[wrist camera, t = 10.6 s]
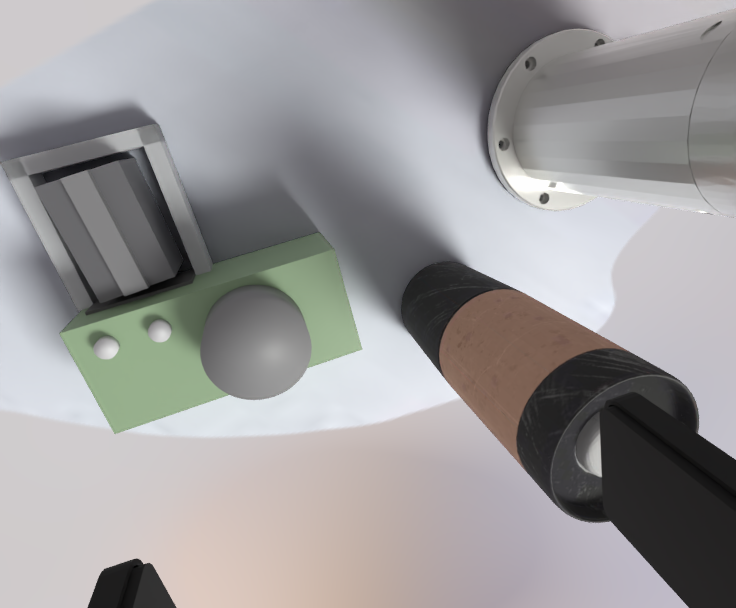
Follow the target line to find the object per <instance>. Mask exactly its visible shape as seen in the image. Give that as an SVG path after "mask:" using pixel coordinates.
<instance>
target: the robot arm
mask: <svg viewBox="0 0 736 608" xmlns="http://www.w3.org/2000/svg"><path fill="white" fill-rule="evenodd" d="M525 63H526V66H525ZM487 138H488V148H489V154H490V157H491V161H492V165H493V168H494V170H495V172H496V174H497V176H498V178H499V180H500V181H501V183H502V184H503V185H504V186H505V188H506V189H507V190H508V192H510V193H511V194H512V195H513V196H514V197H516V198H517V199H518V200H519V201H521V202H523V203H525V204H527V205H529V206H531V207H535V208H539V209H543V210H551V211H562V210H570V209H573V208H576V207H580V206H583V205H585V204H586V203H588V202H590V201H592V200H594V199H596V198H597V197H601V198H608V199H614V200H621V201H627V202H634V203H640V204H647V205H653V206H660V207H667V208H673V209H680V210H686V211H694V212H699V213H707V214H712V215H720V216H727V217H733V218H736V8H735V9H731V10H728V11H724V12H720V13H717V14H713V15H709V16H706V17H702V18H698V19H695V20H691V21H687V22H684V23H680V24H676V25H673V26H669V27H665V28H662V29H658V30H655V31H651V32H647V33H644V34H640V35H636V36H633V37H629V38H625V39H622V40H618V41H614V40H612V39H611V38H609V37H608V36H607V35H604V34H602V33H599V32H597V31H594V30H588V29H579V28H577V29H570V30H563V31H560V32H557V33H554V34H551V35H548V36H546V37H544V38H542V39H540V40H538V41H536V42H534V43H533V44H532V45H530V46H529V47H528V48H527V49H525V50H524V51H523V52H522V53H520V54H519V56H518V57H517V58H516V59H515V60H514V61H513V62H512V64H511V65H510V66H509V67H508V69H507V71H506V72H505V74H504V75H503V77H502V79H501V80H500V82H499V84H498V87H497V89H496V92H495V94H494V97H493V99H492V104H491V108H490V112H489V116H488V130H487ZM499 141H500V143H501V144H500V147H499ZM539 197H540V198H539ZM599 418H600V444H601V471H602V497H603V507H604V510H605V512H606V514H607V516H608V518H609V519H610V521H611V522H612V523H613V524H614V525H615V526H616V527H617V528H618V530H619V531H620V532H621V533H622V534H623V535H624V536H625V537H626V539H627V540H628V541H629V542H630V543H631V544H632V545H633V546H634V547H635V548H636V549H637V551H638V552H639V553H640V554H641V555H642V556H643V557H644V558H645V560H646V561H647V562H648V563H649V564H650V565H651V566H652V567H653V568H654V569H655V571H656V572H657V573H658V574H659V575H660V576H661V577H662V578H663V579H664V581H665V582H666V583H667V584H668V585H669V586H670V587H671V588H672V589H673V590H674V592H676V593H677V595H678V596H679V597H680V598H681V599H682V600H683V602H684V603H685V604H686V605H687V606H688V607H689V608H736V460H735V459H734V458H732V457H730V456H729V455H728V454H726V453H725V452H723V451H722V450H721V449H719V448H717V447H716V446H715V445H713V444H712V443H710V442H709V441H707V440H706V439H704V438H703V437H701V436H700V435H699V434H697V433H696V432H694V431H693V430H691V429H690V428H688V427H687V426H685V425H684V424H683V423H681V422H680V421H678V420H677V419H675V418H674V417H672V416H671V415H669V414H668V413H666V412H665V411H664V410H662V409H661V408H659V407H658V406H656V405H655V404H653V403H652V402H650V401H649V400H647V399H646V398H645V397H643V396H642V395H640V394H638V393H636V392H630V393H627V394H624V395H621V396H618V397H615V398H612V399H609V400H607V401H606V402H605V405H604V409H602V410H601V411H600V415H599ZM88 608H176V606H175V604H174V603H173V601H172V599H171V597H170V595H169V594H168V592H167V590H166V588H165V587H164V585H163V583H162V581H161V579H160V578H159V576H158V574H157V572H156V570H155V569H154V567H153V565H152V564H150V563H147V564H143V563H142V561H141V560H139V559H133V560H130V561H127V562H124V563H121V564H118V565H116V566H112V567H109V568H106V569H104V570H103V571H102V572H101V574H100V576H99V578H98V581H97V583H96V586H95V589H94V592H93V595H92V597H91V600H90V603H89V605H88Z"/></svg>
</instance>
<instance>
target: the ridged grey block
mask: <svg viewBox="0 0 736 608" xmlns="http://www.w3.org/2000/svg"><path fill="white" fill-rule="evenodd" d="M34 189H35V190H36V192H37V194H38V196H39V197H40V199H41V201H42V203H43V204H44V206H45V208H46V210H47V211H48V213H49V215H50V217H51V218H52V220H53V222H54V224H55V225H56V227H57V229H58V230H59V232H60V234H61V236H62V237H63V239H64V241H65V243H66V244H67V246H68V248H69V250H70V251H71V253H72V255H73V257H74V258H75V260H76V262H77V264H78V265H79V267H80V269H81V271H82V272H83V274H84V276H85V278H86V279H87V281H88V283H89V284H90V286H91V288H92V290H93V291H94V293H95V295H96V297H97V298H98V300H99V302H100V303H103V302H106V301H108V300H111V299H114V298H117V297H120V296H122V295H124V297H125V296H128V295H130V294H133V293H136V292H139V291H141V290H144V289H147V288H149V286H150V285H153V284H156V283H159V282H161V281H164V280H167V279H170V278H173V277H175V276H176V274H177V272H178V270H179V268H180V266H181V264H182V262H183V258H182V256H181V253H180V251H179V249H178V247H177V245H176V243H175V241H174V239H173V237H172V235H171V233H170V230H169V228H168V226H167V224H166V222H165V220H164V218H163V216H162V214H161V212H160V210H159V207H158V205H157V203H156V201H155V199H154V197H153V195H152V193H151V191H150V189H149V187H148V184H147V182H146V180H145V178H144V176H143V174H142V172H141V170H140V168H139V166H138V164H137V161H136V159H135V158H131V159H124V160H118V161H115V162H111V163H108V164H105V165H102V166H99V167H96V168H93V169H90V170H85V171H82V172H79V173H76V174H73V175H70V176H67V177H64V178H61V179H59V180H56V181H52V182H49V183H46V184H43V185H40V186H37V187H34Z"/></svg>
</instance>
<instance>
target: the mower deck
mask: <svg viewBox="0 0 736 608" xmlns="http://www.w3.org/2000/svg"><path fill="white" fill-rule="evenodd" d="M142 147H144V148H145V151H146V153H147V156H148V158H149V161H150V163H151V166H152V168H153V171H154V173H155V175H156V178H157V180H158V183H159V185H160V188H161V190H162V193H163V195H164V198H165V200H166V203H167V205H168V208H169V210H170V212H171V215H172V217H173V220H174V222H175V225H176V227H177V230H178V232H179V235H180V237H181V240H182V242H183V245H184V247H185V249H186V252H187V254H188V257H189V259H190V262H191V264H192V267H193V269H190V270H187V271H184V272H180V273H177V274H176V276H175V277H173V278H170V279H167V280H164V281H161V282H159V283H156V284H153V285H150V286H149V288H147V289H144V290H141V291H139V292H136V293H133V294H130V295H128V296H125V297H124V295H122V296H120V297H117V298H114V299H111V300H108V301H106V302H103V303H100V302H99V300H98V298H97V297H96V295H95V293H94V291H93V290H92V288H91V286H90V284H89V283H88V281H87V279H86V278H85V276H84V274H83V272H82V271H81V269H80V267H79V265H78V264H77V262H76V260H75V258H74V257H73V255H72V253H71V251H70V250H69V248H68V246H67V244H66V243H65V241H64V239H63V237H62V236H61V234H60V232H59V230H58V229H57V227H56V225H55V224H54V222H53V220H52V218H51V217H50V215H49V213H48V211H47V210H46V208H45V206H44V204H43V203H42V201H41V199H40V197H39V196H38V194H37V192H36V190H35V189H34V187H37V186H40V185H43V184H46V181H45V179H44V177H43V175H42V173H45V172H49V171H53V170H56V169H60V168H64V167H68V166H72V165H76V164H80V163H84V162H88V161H91V160H95V159H99V158H103V157H107V156H111V155H115V154H119V153H123V152H126V151H130V150H134V149H138V148H142ZM0 163H1V165H2V167H3V169H4V171H5V173H6V175H7V176H8V178H9V180H10V182H11V184H12V186H13V188H14V190H15V192H16V194H17V196H18V198H19V199H20V201H21V203H22V205H23V207H24V209H25V211H26V213H27V215H28V217H29V219H30V220H31V222H32V224H33V226H34V228H35V230H36V232H37V234H38V236H39V238H40V240H41V242H42V243H43V245H44V247H45V249H46V251H47V253H48V255H49V257H50V259H51V261H52V263H53V264H54V266H55V268H56V270H57V272H58V274H59V276H60V278H61V280H62V282H63V284H64V285H65V287H66V289H67V291H68V293H69V295H70V297H71V299H72V301H73V303H74V305H75V307H76V308H77V310H78V311H80V310H81V312H80V313H79V314H78V315H77V316H76V317H75V318H74V319H73V320H72V321H71V322H70V323H69V324H68V325H67V326H66V327H65V328H64V329H63V330H62V331H61V332H60V333H59V334H60V336H61V337H62V339H63V341H64V343H65V345H66V347H67V348H68V350H69V352H70V354H71V356H72V357H73V359H74V361H75V363H76V365H77V367H78V368H79V370H80V372H81V374H82V376H83V377H84V379H85V381H86V383H87V385H88V387H89V388H90V390H91V392H92V394H93V396H94V397H95V399H96V401H97V403H98V405H99V407H100V408H101V410H102V412H103V414H104V416H105V417H106V419H107V421H108V423H109V425H110V426H111V428H112V430H113V432H114V434H116V433H119V432H122V431H125V430H128V429H131V428H134V427H137V426H140V425H143V424H146V423H149V422H151V421H154V420H157V419H160V418H163V417H166V416H169V415H172V414H175V413H178V412H181V411H184V410H187V409H189V408H192V407H195V406H198V405H201V404H204V403H207V402H210V401H213V400H216V399H219V398H222V397H224V396H227V395H232V396H234V397H237V398H241V399H248V400H260V399H266V398H270V397H274V396H277V395H279V394H281V393H283V392H285V391H287V390H288V389H290V388H291V387H292V386H293V385H295V384H296V383H297V382H298V381H299V379H300V378H301V377H302V376H303V374H304V373H305V371H306V369H307V368H309V367H312V366H315V365H318V364H321V363H324V362H327V361H330V360H333V359H336V358H338V357H341V356H344V355H347V354H350V353H353V352H356V351H359V350H362V347H361V343H360V340H359V336H358V332H357V329H356V325H355V322H354V318H353V315H352V311H351V307H350V304H349V300H348V297H347V293H346V290H345V286H344V282H343V279H342V275H341V272H340V268H339V265H338V261H337V257H336V254H335V250H334V248H333V247H332V246H331V245H330V244H329V243H328V241H327V240H326V239H325V238H324V237H323V236H322V235H321V233H320V232H318V233H314V234H311V235H308V236H304V237H301V238H297V239H294V240H291V241H287V242H284V243H281V244H277V245H274V246H271V247H267V248H264V249H261V250H257V251H254V252H251V253H247V254H244V255H241V256H237V257H234V258H231V259H227V260H224V261H221V262H217V263H214V264H213V263H212V260H211V257H210V255H209V252H208V250H207V247H206V245H205V242H204V239H203V237H202V234H201V232H200V229H199V226H198V224H197V221H196V219H195V216H194V214H193V211H192V208H191V206H190V203H189V201H188V198H187V195H186V193H185V190H184V188H183V185H182V183H181V180H180V177H179V175H178V172H177V170H176V167H175V164H174V162H173V159H172V157H171V154H170V151H169V149H168V146H167V144H166V141H165V139H164V136H163V133H162V131H161V128H160V126H159V125H157V124H151V125H147V126H143V127H139V128H135V129H131V130H127V131H123V132H119V133H115V134H111V135H107V136H103V137H99V138H95V139H91V140H87V141H83V142H79V143H75V144H71V145H67V146H63V147H59V148H55V149H51V150H47V151H43V152H39V153H35V154H31V155H27V156H23V157H19V158H15V159H11V160H7V161H3V162H0Z"/></svg>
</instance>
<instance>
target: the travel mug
mask: <svg viewBox="0 0 736 608" xmlns="http://www.w3.org/2000/svg"><path fill="white" fill-rule="evenodd" d="M401 311H402V318H403V321H404V324H405V326H406V328H407V330H408V331H409V333H410V334H411V335H412V337H413V338H414V339H415V341H416V342H417V343H418V345H419V346H420V347H421V349H422V350H423V351H424V352H425V354H426V355H427V356H428V358H429V359H430V360H431V361H432V363H433V364H434V365H435V367H436V368H437V369H438V370H439V372H440V373H441V374H442V376H443V377H444V378H445V379H446V381H447V382H448V383H449V384H450V386H451V387H452V388H453V389H454V390H455V391H456V393H457V394H458V395H459V396H460V397H461V398H462V399H463V400H464V401H465V403H466V404H467V405H468V406H469V407H470V408H471V409H472V411H473V412H474V413H475V414H476V415H477V416H478V417H479V419H480V420H481V421H482V422H483V423H484V424H485V425H486V427H487V428H488V429H489V430H490V431H491V432H492V433H493V434H494V436H495V437H496V438H497V439H498V440H499V441H500V442H501V443H502V445H503V446H504V447H505V448H506V449H507V450H508V451H509V453H510V454H511V455H512V456H513V457H514V458H515V459H516V460H517V462H518V463H519V464H520V465H521V466H522V467H523V468H524V469H525V471H526V472H527V473H528V474H529V475H530V476H531V477H532V478H533V480H534V481H535V482H536V483H537V484H538V485H539V487H540V488H541V489H542V490H543V491H544V492H545V493H546V494H547V496H548V497H549V498H550V499H551V500H552V501H553V502H554V503H555V504H556V505H557V506H558V507H559V508H560V509H561V510H562V511H563V512H565V513H566V514H568V515H569V516H571V517H573V518H575V519H578V520H581V521H585V522H593V523H594V522H595V523H601V522H609V521H610V519H609V518H608V516H607V514H606V512H605V510H604V507H603V497H602V471H601V444H600V418H599V415H600V411H601V410H602V409H604V405H605V402H606V401H607V400H609V399H612V398H615V397H618V396H621V395H624V394H627V393H630V392H636V393H638V394H640V395H642V396H643V397H645V398H646V399H647V400H649V401H650V402H652V403H653V404H655V405H656V406H658V407H659V408H661V409H662V410H664V411H665V412H666V413H668V414H669V415H671V416H672V417H674V418H675V419H677V420H678V421H680V422H681V423H683V424H684V425H685V426H687V427H688V428H690V429H691V430H693V431H694V432H696V433H697V434H698V429H699V414H698V408H697V405H696V401H695V399H694V397H693V395H692V393H691V392H690V391H689V389H688V388H687V387H686V386H685V385H684V384H683V383H682V382H681V381H680V380H678V379H677V378H675V377H674V376H672V375H670V374H668V373H667V372H665V371H663V370H661V369H660V368H658V367H656V366H654V365H652V364H651V363H649V362H647V361H645V360H643V359H642V358H640V357H638V356H636V355H634V354H632V353H631V352H629V351H627V350H625V349H624V348H622V347H620V346H618V345H616V344H615V343H613V342H611V341H609V340H607V339H605V338H604V337H602V336H600V335H598V334H597V333H595V332H593V331H591V330H589V329H588V328H586V327H584V326H582V325H580V324H579V323H577V322H575V321H573V320H571V319H570V318H568V317H566V316H564V315H562V314H561V313H559V312H557V311H555V310H553V309H552V308H550V307H548V306H546V305H544V304H543V303H541V302H539V301H537V300H535V299H534V298H532V297H530V296H528V295H526V294H524V293H522V292H520V291H518V290H516V289H514V288H512V287H510V286H508V285H505V284H503V283H501V282H499V281H497V280H495V279H493V278H491V277H489V276H486V275H484V274H482V273H480V272H478V271H476V270H474V269H471V268H469V267H467V266H464V265H462V264H459V263H455V262H440V263H436V264H433V265H430V266H428V267H426V268H424V269H423V270H421V271H420V272H419V273H418V274H417V275H416V276H415V277H414V278H413V279H412V280H411V281H410V283H409V284H408V286H407V288H406V290H405V292H404V295H403V298H402V305H401Z"/></svg>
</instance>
